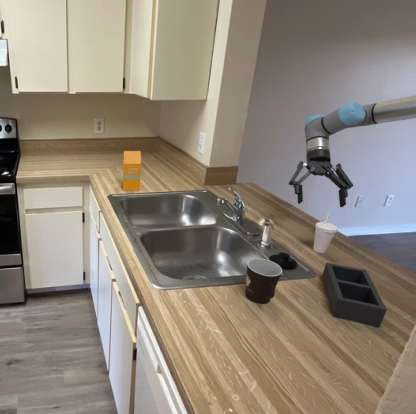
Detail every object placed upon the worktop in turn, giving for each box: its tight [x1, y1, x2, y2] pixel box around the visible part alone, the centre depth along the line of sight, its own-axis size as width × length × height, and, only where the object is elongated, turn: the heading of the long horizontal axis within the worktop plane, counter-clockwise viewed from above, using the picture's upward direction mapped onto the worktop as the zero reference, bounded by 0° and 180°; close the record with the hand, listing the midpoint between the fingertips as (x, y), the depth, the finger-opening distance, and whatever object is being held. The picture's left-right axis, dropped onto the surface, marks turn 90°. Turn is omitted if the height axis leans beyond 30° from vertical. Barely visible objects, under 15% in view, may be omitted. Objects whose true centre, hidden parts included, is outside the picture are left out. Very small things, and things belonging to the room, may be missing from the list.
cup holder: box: [321, 262, 388, 328], centre depth 91 cm, size 10×19×6 cm, turn 156°
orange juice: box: [122, 150, 142, 191], centre depth 173 cm, size 8×9×20 cm
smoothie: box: [313, 213, 338, 254], centre depth 114 cm, size 6×6×14 cm
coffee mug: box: [244, 257, 283, 305], centre depth 91 cm, size 12×9×10 cm
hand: (321, 204), depth 118 cm, fingers open, 13 cm apart
